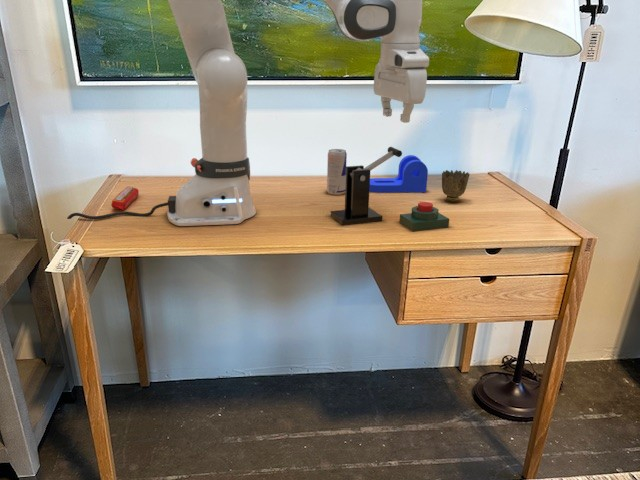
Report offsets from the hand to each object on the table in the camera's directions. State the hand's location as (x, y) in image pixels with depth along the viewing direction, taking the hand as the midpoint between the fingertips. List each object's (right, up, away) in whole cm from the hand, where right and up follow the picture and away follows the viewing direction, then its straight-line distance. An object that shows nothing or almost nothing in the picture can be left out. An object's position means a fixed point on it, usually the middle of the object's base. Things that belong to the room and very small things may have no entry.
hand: (395, 119), depth 141 cm
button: (+7, -22, +2) cm, 23 cm away
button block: (+7, -25, +4) cm, 26 cm away
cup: (+19, -15, +23) cm, 33 cm away
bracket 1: (-9, -23, +8) cm, 26 cm away
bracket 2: (+4, -9, +34) cm, 35 cm away
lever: (-4, -11, +4) cm, 12 cm away
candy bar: (-71, -17, +17) cm, 75 cm away
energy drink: (-14, -12, +29) cm, 34 cm away
